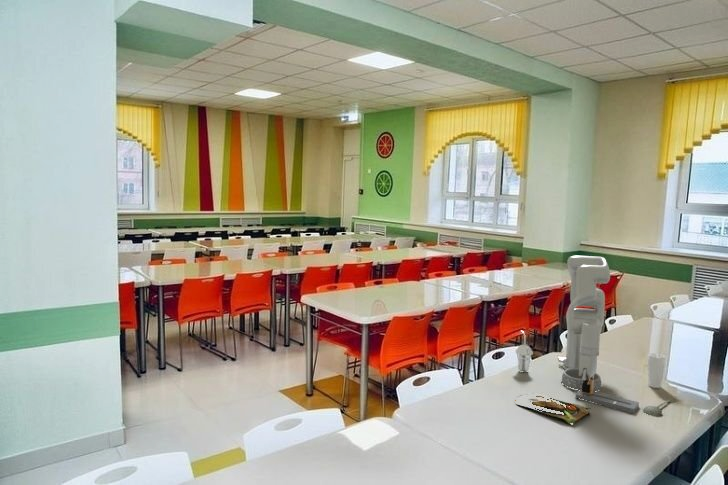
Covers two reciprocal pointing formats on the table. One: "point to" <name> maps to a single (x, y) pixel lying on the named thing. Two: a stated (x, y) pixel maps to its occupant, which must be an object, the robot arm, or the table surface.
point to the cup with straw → (524, 356)
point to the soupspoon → (655, 409)
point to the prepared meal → (563, 410)
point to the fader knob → (590, 386)
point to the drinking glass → (655, 370)
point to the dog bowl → (578, 379)
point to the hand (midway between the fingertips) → (587, 390)
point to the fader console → (610, 401)
